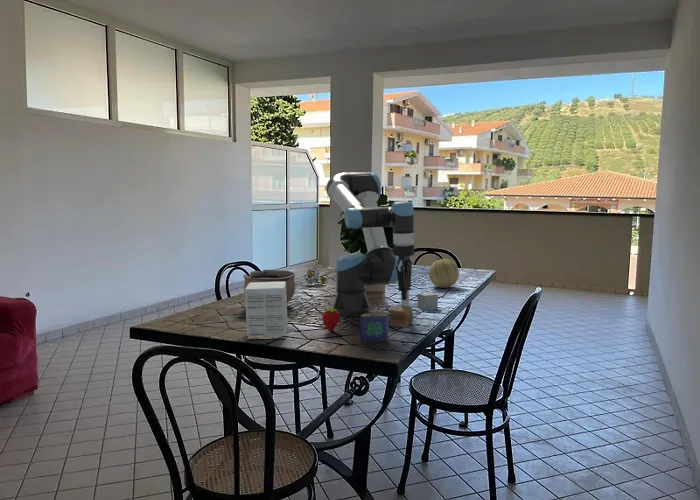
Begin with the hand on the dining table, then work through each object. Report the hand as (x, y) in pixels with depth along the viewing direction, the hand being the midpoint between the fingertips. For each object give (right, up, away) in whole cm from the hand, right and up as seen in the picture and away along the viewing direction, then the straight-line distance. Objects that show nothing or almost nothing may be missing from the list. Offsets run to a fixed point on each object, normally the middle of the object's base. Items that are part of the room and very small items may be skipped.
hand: (405, 307), depth 189 cm
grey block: (+12, -3, +23) cm, 26 cm away
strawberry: (-27, -7, -11) cm, 30 cm away
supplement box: (-49, -8, -12) cm, 51 cm away
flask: (-13, -9, -23) cm, 28 cm away
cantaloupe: (+26, +2, +66) cm, 71 cm away
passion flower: (-39, +3, +81) cm, 90 cm away
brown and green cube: (0, -2, -1) cm, 2 cm away
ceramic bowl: (-54, -3, +30) cm, 62 cm away
